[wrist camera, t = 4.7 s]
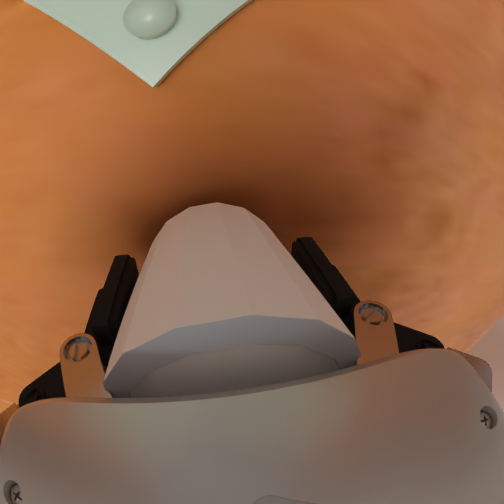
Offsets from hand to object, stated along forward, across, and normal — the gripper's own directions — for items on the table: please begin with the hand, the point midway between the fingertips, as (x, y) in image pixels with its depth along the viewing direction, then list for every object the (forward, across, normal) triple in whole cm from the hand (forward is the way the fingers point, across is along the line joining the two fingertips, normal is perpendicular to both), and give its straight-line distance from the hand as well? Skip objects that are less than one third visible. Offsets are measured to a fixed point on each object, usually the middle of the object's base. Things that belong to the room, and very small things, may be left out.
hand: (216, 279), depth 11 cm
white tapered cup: (+1, 0, 0) cm, 1 cm away
